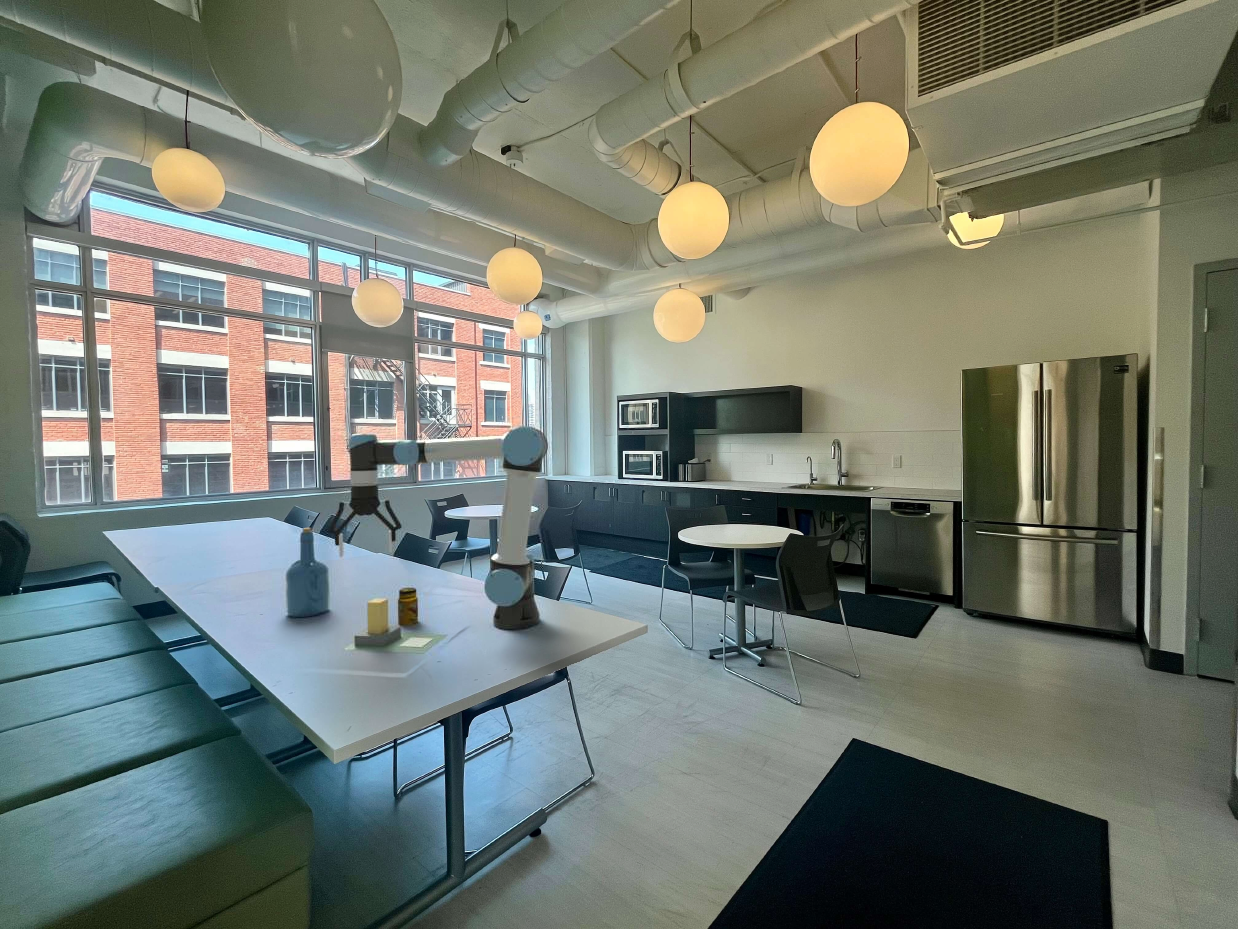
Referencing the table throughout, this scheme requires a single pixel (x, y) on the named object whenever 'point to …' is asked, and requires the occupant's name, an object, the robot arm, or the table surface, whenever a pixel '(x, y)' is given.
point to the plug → (377, 616)
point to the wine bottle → (307, 582)
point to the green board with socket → (394, 641)
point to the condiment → (407, 606)
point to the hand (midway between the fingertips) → (366, 554)
